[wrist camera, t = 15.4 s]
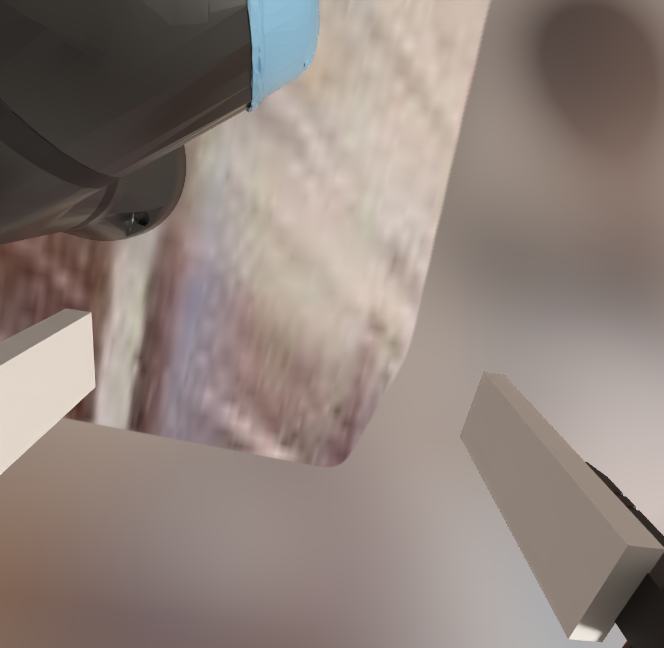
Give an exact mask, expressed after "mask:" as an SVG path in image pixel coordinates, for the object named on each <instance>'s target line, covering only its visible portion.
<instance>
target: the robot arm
mask: <svg viewBox="0 0 664 648" xmlns="http://www.w3.org/2000/svg"><path fill="white" fill-rule="evenodd" d="M319 27H320V14H319V0H0V245H1V244H6V243H10V242H15V241H20V240H24V239H29V238H34V237H39V236H43V235H48V234H53V233H57V232H64V233H67V234H71V235H74V236H78V237H82V238H85V239H90V240H98V241H115V240H123V239H127V238H131V237H134V236H137V235H140V234H143V233H146V232H148V231H150V230H152V229H154V228H155V227H157V226H158V225H159V224H161V223H162V222H163V221H164V220H165V219H166V218H167V217H168V216H169V215H170V214H171V212H172V211H173V209H174V208H175V206H176V205H177V203H178V201H179V198H180V196H181V193H182V190H183V187H184V182H185V176H186V155H185V148H184V144H185V143H187V142H189V141H190V140H192V139H194V138H196V137H198V136H199V135H201V134H203V133H205V132H207V131H208V130H210V129H212V128H214V127H216V126H217V125H219V124H221V123H223V122H224V121H226V120H228V119H230V118H232V117H233V116H235V115H237V114H239V113H241V112H242V111H244V110H247V111H248V112H251V111H253V110H255V109H256V108H257V107H258V106H259V104H260V101H261V100H262V99H264V98H266V97H267V96H269V95H270V94H272V93H274V92H275V91H277V90H278V89H280V88H281V87H283V86H285V85H286V84H288V83H289V82H291V81H293V80H294V79H296V78H297V77H299V76H300V75H301V74H302V73H303V72H304V71H305V70H306V69H307V68H308V66H309V65H310V63H311V61H312V58H313V56H314V53H315V51H316V47H317V40H318V35H319ZM94 388H95V371H94V353H93V334H92V315H91V312H86V311H79V310H72V309H64V310H62V311H60V312H58V313H57V314H55V315H53V316H51V317H49V318H47V319H45V320H43V321H41V322H39V323H37V324H35V325H33V326H31V327H29V328H27V329H25V330H23V331H21V332H19V333H17V334H15V335H13V336H12V337H10V338H8V339H6V340H4V341H2V342H0V475H1V474H2V473H3V472H4V471H5V470H6V469H7V468H8V467H9V466H10V465H11V464H12V463H14V462H15V461H16V460H17V459H18V458H19V457H20V456H21V455H22V454H23V453H24V452H25V451H27V450H28V449H29V448H30V447H31V446H32V445H33V444H34V443H35V442H36V441H37V440H38V439H39V438H41V437H42V436H43V435H44V434H45V433H46V432H47V431H48V430H49V429H50V428H51V427H53V426H54V425H55V424H56V423H57V422H58V421H59V420H60V419H61V418H62V417H63V416H64V415H66V414H67V413H68V412H69V411H70V410H71V409H72V408H73V407H74V406H75V405H76V404H77V403H79V402H80V401H81V400H82V399H83V398H84V397H85V396H86V395H87V394H88V393H89V392H90V391H92V390H93V389H94ZM460 437H461V439H462V441H463V442H464V444H465V446H466V448H467V450H468V452H469V454H470V456H471V457H472V459H473V461H474V463H475V465H476V467H477V469H478V471H479V473H480V474H481V476H482V478H483V480H484V482H485V484H486V485H487V487H488V489H489V491H490V493H491V495H492V497H493V499H494V500H495V502H496V504H497V506H498V508H499V510H500V512H501V514H502V516H503V517H504V519H505V521H506V523H507V525H508V527H509V529H510V531H511V532H512V534H513V536H514V538H515V540H516V542H517V544H518V546H519V547H520V549H521V551H522V553H523V555H524V557H525V559H526V561H527V562H528V564H529V566H530V568H531V570H532V571H533V574H534V576H535V577H536V579H537V581H538V583H539V585H540V587H541V589H542V591H543V592H544V594H545V596H546V598H547V600H548V602H549V604H550V605H551V607H552V609H553V611H554V613H555V615H556V616H557V619H558V620H559V622H560V624H561V626H562V628H563V630H564V632H565V633H566V635H567V637H568V639H574V640H585V641H596V642H603V640H604V639H605V637H606V635H607V634H608V633H609V631H610V630H611V628H612V627H613V626H614V624H615V623H616V624H617V625H618V627H619V629H620V630H621V632H622V633H623V635H624V636H625V638H626V639H627V642H626V643H625V644H624V646H623V647H622V648H664V536H663V535H662V534H661V533H660V532H659V531H658V530H657V529H656V528H655V527H654V526H653V524H652V523H651V522H650V521H649V520H648V519H647V518H646V517H645V516H644V515H643V514H642V513H641V512H640V511H638V510H636V507H635V506H634V504H633V503H632V502H631V501H630V500H629V499H628V498H627V497H625V496H623V493H622V492H621V491H620V490H619V489H618V488H617V487H616V486H615V485H614V483H613V482H612V481H611V480H610V479H609V478H608V477H607V476H605V475H604V474H603V473H601V472H600V471H598V470H597V469H596V468H594V467H593V466H592V465H590V464H589V463H588V462H584V461H583V459H582V458H581V457H580V456H579V455H578V454H577V453H576V452H575V451H574V450H573V449H572V448H571V446H569V444H568V443H567V442H566V441H565V440H564V439H563V438H562V437H561V436H560V435H559V433H557V431H556V430H555V429H554V428H553V427H552V426H551V425H550V424H549V423H548V422H547V421H546V419H545V418H543V416H542V415H541V414H540V413H539V412H538V411H537V410H536V409H535V408H534V406H533V405H532V404H531V403H530V402H529V401H528V400H527V399H526V398H525V397H524V396H523V395H522V393H521V392H520V391H519V390H518V389H517V388H516V387H515V386H514V385H513V384H512V383H511V382H510V381H509V379H508V378H507V377H506V376H505V375H501V374H495V373H488V372H483V375H482V378H481V380H480V383H479V386H478V388H477V392H476V394H475V397H474V400H473V402H472V405H471V408H470V411H469V413H468V416H467V419H466V422H465V424H464V427H463V430H462V433H461V435H460Z"/></svg>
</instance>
